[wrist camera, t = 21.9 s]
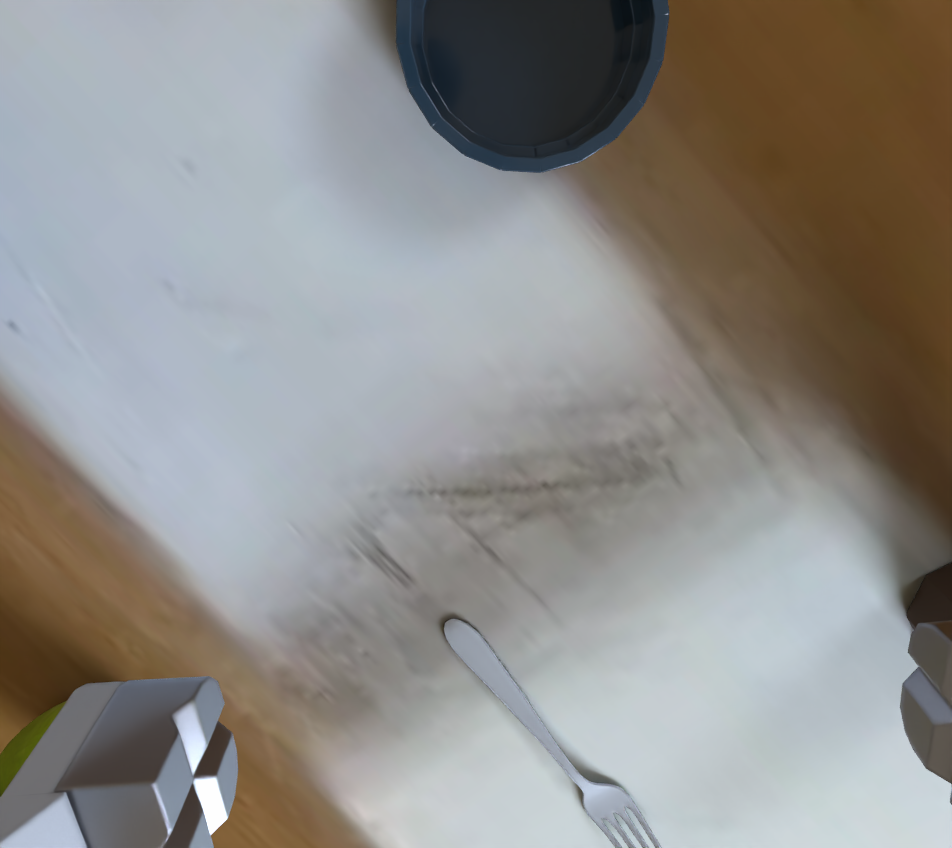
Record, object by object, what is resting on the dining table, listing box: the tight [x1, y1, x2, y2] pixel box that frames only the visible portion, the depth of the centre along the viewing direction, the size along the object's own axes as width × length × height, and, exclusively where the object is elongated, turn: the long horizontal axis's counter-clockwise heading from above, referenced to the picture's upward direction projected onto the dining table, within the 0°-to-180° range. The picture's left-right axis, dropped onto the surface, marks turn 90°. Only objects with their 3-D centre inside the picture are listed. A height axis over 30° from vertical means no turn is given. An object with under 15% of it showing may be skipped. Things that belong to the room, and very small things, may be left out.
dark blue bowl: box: [396, 0, 669, 173], centre depth 32 cm, size 11×11×4 cm
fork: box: [444, 619, 661, 848], centre depth 49 cm, size 3×24×2 cm, turn 35°
